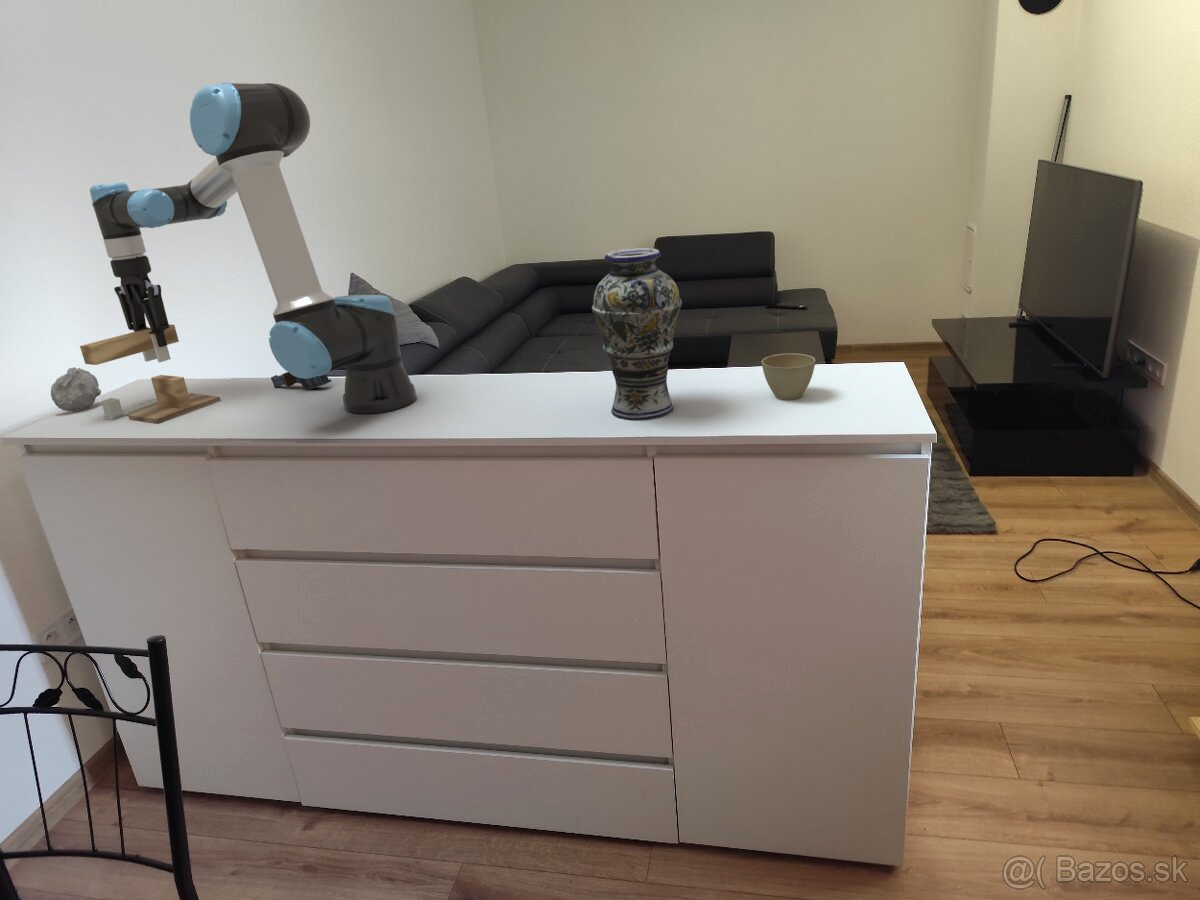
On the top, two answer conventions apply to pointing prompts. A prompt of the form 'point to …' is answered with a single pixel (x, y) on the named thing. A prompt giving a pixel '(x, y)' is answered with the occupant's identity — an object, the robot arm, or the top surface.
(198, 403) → the fulcrum
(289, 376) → the gun
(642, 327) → the vase
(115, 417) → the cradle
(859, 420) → the top surface
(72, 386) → the stone
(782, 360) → the flower pot
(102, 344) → the bar
